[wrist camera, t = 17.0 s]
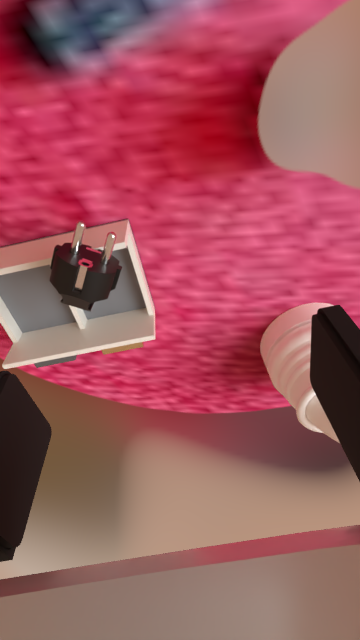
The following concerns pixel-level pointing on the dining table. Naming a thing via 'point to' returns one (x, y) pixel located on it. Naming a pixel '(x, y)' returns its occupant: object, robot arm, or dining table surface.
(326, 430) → the honey pot
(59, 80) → the dining table surface
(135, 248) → the two-cubby white shelf
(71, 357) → the grey flat block
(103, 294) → the power plug
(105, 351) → the tan wooden slab
